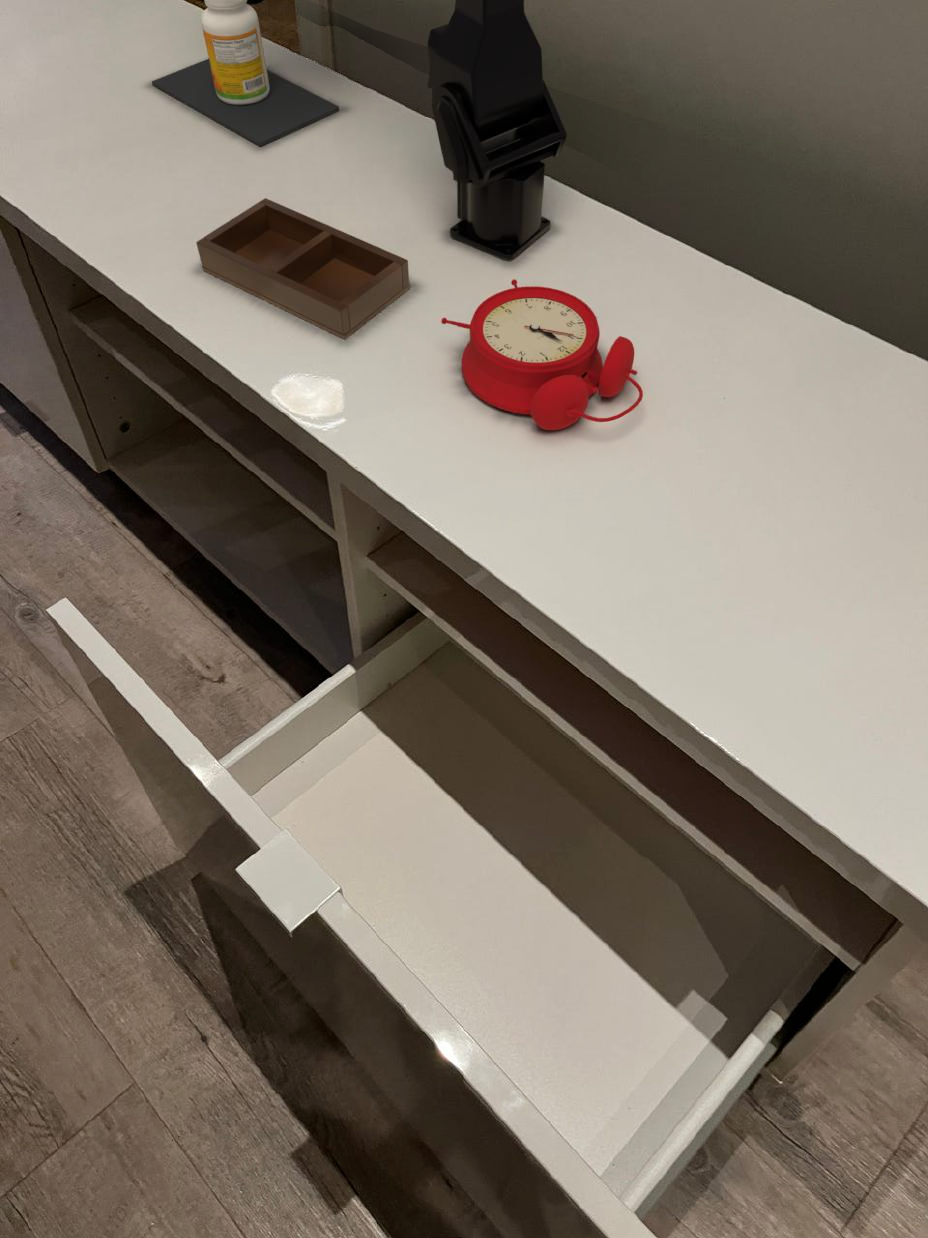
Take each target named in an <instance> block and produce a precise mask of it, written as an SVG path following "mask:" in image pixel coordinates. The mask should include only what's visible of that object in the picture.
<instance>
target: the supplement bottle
mask: <svg viewBox="0 0 928 1238" xmlns="http://www.w3.org/2000/svg"><path fill="white" fill-rule="evenodd" d="M203 1H204V4H205V6H206V8H205V9H204V11H203V12H202V14H201V18H200V22H201V23H200V24H201V28H202V33H203V37H204V44H205V47H206V53H207V57H208V59H209V62H210V67H211V71H212V76H213V81H214V85H215V90H216V93H217V96H218V98H219V99H220V100H222V101H223V102H225V103H227V104H231V105H247V104H253V103H256V102H259V101H261V100H263V99H264V98H265V97H266V96H267V95H268V94H269V90H270V87H269V80H268V74H267V70H268V69H267V63H266V58H265V57H266V56H265V51H264V45H263V40H262V34H261V33H262V32H261V26H260V21H259V17H258V14H257V11H256V10H255V9H254V7H252V6H251V5H250V4H249V3H247V2H248V0H203Z"/></svg>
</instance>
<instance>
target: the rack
mask: <svg viewBox="0 0 928 1238" xmlns="http://www.w3.org/2000/svg"><path fill="white" fill-rule="evenodd" d="M195 243H196V247H197V251H198V255H199V258H200V259H199V260H200V262H201V266H202V267H201V268H202V271H203V272H205V273H207V274H209V275H210V276H211V275H212V276H213V277H216V278H217V279H220V280H222V281H224V282H226V283H228V284H230V285H232V286H234V287H236V288H238V289H240V290H242V291H244V292H246V293H248V294H250V295H252V296H254V297H256V298H258V299H260V300H262V301H265V302H266V303H269V304H271V305H273V306H275V307H277V308H279V309H281V310H283V311H285V312H287V313H289V314H291V315H293V316H295V317H297V318H299V319H301V320H304V321H305V322H308V323H309V324H312V325H314V326H316V327H318V328H320V329H322V330H324V331H325V332H328V333H330V334H332V335H334V336H336V337H338V338H340V339H342V340H346V339H348V338H349V337H350V336H351V335H352V334H354V333H355V332H356V331H358V330H359V329H360V328H361V327H362V326H364V325H366V324H367V323H368V322H369V321H370V320H371V319H373V318H374V317H375V316H377V315H378V314H379V313H380V312H382V311H384V310H385V308H387V307H389V305H391V304H392V303H393V302H395V301H396V300H397V299H398V298H400V297H401V296H402V295H403V294H405V293H406V292H407V291H409V290H410V273H409V260H408V259H406V258H404V257H402V256H399V255H397V254H395V253H392V252H390V251H388V250H386V249H383V248H381V247H379V246H377V245H374V244H372V243H370V242H367V241H365V240H363V239H361V238H358V237H356V236H354V235H351V234H349V233H347V232H344V231H342V230H340V229H337V228H335V227H333V226H330V225H329V224H327V223H324V222H321V221H319V220H317V219H315V218H312V217H310V216H308V215H305V214H303V213H301V212H298V211H296V210H294V209H292V208H289V207H287V206H285V205H283V204H281V203H279V202H275V201H273V200H271V199H269V198H266V197H265V198H263V199H261V200H260V201H259V202H257V203H255V204H253V205H252V206H250V207H248V208H247V209H246V210H244V211H242V212H240V213H239V214H238V215H236V216H235V217H233V218H232V219H229V220H228V221H227V222H225V223H224V224H222V225H220V226H219V227H217V228H215V229H214V230H212V231H211V232H210V233H208V234H206V235H205V236H203V238H201V239H198V240H197V241H196V242H195Z"/></svg>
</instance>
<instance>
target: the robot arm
mask: <svg viewBox="0 0 928 1238" xmlns="http://www.w3.org/2000/svg"><path fill="white" fill-rule="evenodd" d="M454 2H455V3H454V10H453V13H452V15H451V16H450V19H449V21H448V23H446V24H443V25H440V26H438V27H435V28H432V29H430V31H429V34H428V39H427V50H428V51H427V52H428V61H429V75H428V80H427V84H426V85H427V89H431V110H432V114H433V119H434V123H435V128H436V132H437V137H438V142H439V146H440V147H439V148H440V150H441V156H442V159H443V163H444V164H443V165H444V167H445V168H447V170H449V171H451V172H452V180H453V181H455V182H456V213H457V214H456V216H457V219H459V221H457V223H455V224H454V225H453V226H451V227H450V228H449V236H450V237H452V239H455V240H458V241H461V242H463V243H466V244H468V245H469V246H473V247H475V248H478V249H480V250H483V251H485V252H487V253H490V254H491V255H494V256H497V257H499V258H502V259H504V260H507V261H508V260H513V259H514V258H516V257H517V256H518V255H519V254H520V253H521V252H523V251H524V250H526V248H528V246H530V245H531V244H533V243H534V242H535V241H536V240H538V239H539V238H540V237H542V235H543V234H544V233H545V232H547V231H548V230H549V229H551V223H552V222H551V221H552V220H550V219H548V218H547V217H543V216H542V214H543V213H542V212H543V211H542V210H543V199H544V186H545V185H544V184H545V170H546V163H545V162H543V161H546V160H548V159H550V158H555V157H557V156H559V155H561V152H562V150H563V147H564V145H565V142H566V139H567V136H568V135H567V130H566V128H565V126H564V125H563V121H562V119H561V117H560V115H559V113H558V110H557V107H556V105H555V103H554V101H553V99H552V96H551V94H550V92H549V89H548V87H547V83H546V82H545V80H544V71H543V70H544V69H543V50H542V49H543V48H542V45H541V42H540V41H539V38H538V36H537V34H536V32H535V30H534V28H533V26H532V24H531V22H530V20H529V18H528V15H527V13H526V11H525V0H455V1H454Z"/></svg>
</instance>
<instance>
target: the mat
mask: <svg viewBox="0 0 928 1238" xmlns="http://www.w3.org/2000/svg"><path fill="white" fill-rule="evenodd" d="M267 74H268V80H269V87H270V90H269V94H268V95H267V96H266V97H265V98H264V99H263V100H261V101H259V102H256V103H253V104H247V105H231V104H227V103H225V102H223V101H222V100H220V99H219V98H218V96H217V93H216V90H215V85H214V81H213V76H212V71H211V67H210V62H209V58H207V59H204V60H201V61H199V62H197V63H194V64H192V65H189V66H187V67H184V68H181V69H179V70H177V71H174V72H172V73H169V74H167V75H164V76H162V77H159V78H156V79H155V80H152V81H151V85H152V86H153V87H155V88H156V89H158V90H160V91H162V92H164V93H165V94H167V95H169V96H171V97H172V98H173V99H176V100H177V101H179V102H181V103H182V104H184V105H186V106H188V107H190V108H191V109H193V110H194V111H196V112H198V113H200V114H201V115H203V116H205V117H207V118H208V119H210V120H211V121H214V122H216V123H218V124H219V125H221V126H223V127H225V128H226V129H228V130H230V131H232V132H233V133H235V134H236V135H239V136H240V137H242V138H244V139H246V140H247V141H249V142H251V143H253V144H254V145H256V146H257V147H260V148H261V147H263V146H266V145H267V144H271V143H272V142H274V141H276V140H278V139H280V138H281V139H282V138H284V137H285V136H287V135H290V134H292V133H294V132H297V131H298V130H300V129H302V128H305V127H307V126H309V125H311V124H313V123H315V122H317V121H320V120H322V119H324V118H326V117H328V116H331V115H333V114H335V113H337V112H339V111H340V106H338V105H336V104H335V103H333V102H331V101H329V100H328V99H325V98H323V97H321V96H319V95H317V94H316V93H313V92H311V91H310V90H308V89H306V88H304V87H302V86H300V85H297V84H296V83H294V82H292V81H291V80H288V79H286V78H284V77H282V76H280V75H279V74H277V73H275V72H273V71H271V70H269V69H267Z"/></svg>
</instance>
